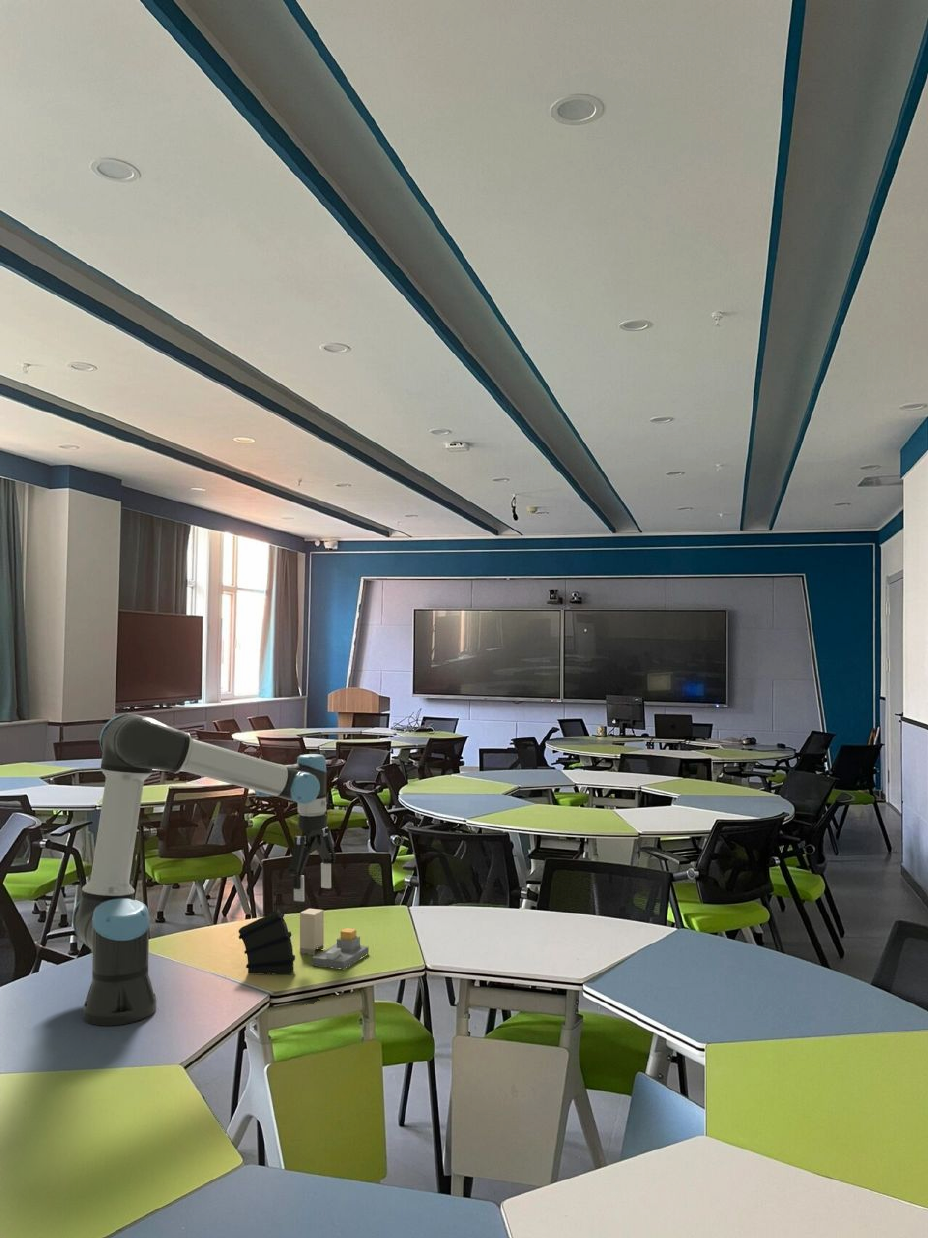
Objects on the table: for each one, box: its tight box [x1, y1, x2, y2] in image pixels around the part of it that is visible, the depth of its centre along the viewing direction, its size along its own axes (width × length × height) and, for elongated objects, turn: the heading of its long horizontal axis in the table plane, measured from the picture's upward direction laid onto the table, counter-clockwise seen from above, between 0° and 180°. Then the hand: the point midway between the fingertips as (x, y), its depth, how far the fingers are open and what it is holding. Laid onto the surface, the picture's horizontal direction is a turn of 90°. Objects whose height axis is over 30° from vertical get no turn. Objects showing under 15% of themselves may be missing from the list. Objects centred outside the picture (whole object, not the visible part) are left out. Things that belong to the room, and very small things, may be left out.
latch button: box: [340, 927, 357, 940], centre depth 248 cm, size 3×3×3 cm
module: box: [299, 908, 325, 955], centre depth 251 cm, size 5×4×10 cm
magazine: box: [238, 909, 296, 975], centre depth 235 cm, size 4×13×15 cm, turn 88°
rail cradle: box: [312, 935, 370, 970], centre depth 244 cm, size 9×13×4 cm
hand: (312, 894), depth 252 cm, fingers open, 13 cm apart
